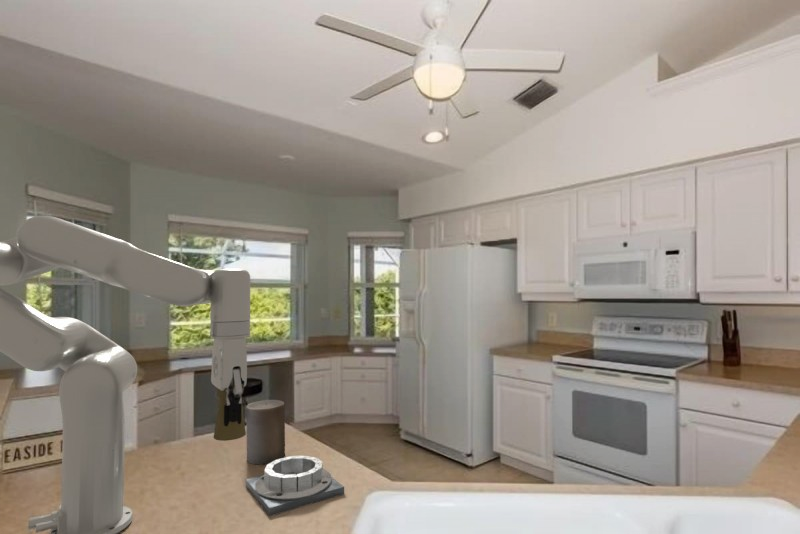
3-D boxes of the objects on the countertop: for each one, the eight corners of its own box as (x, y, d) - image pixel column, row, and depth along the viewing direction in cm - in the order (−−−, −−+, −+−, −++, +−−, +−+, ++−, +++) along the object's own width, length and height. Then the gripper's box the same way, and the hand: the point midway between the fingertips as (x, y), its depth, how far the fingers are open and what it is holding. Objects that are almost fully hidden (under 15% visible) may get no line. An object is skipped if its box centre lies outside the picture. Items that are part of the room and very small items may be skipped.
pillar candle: (291, 451, 121) (290, 394, 122) (275, 465, 111) (275, 403, 112) (256, 450, 122) (256, 394, 123) (238, 464, 112) (238, 403, 113)
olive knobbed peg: (212, 433, 92) (213, 378, 92) (244, 429, 94) (244, 376, 95) (214, 442, 86) (214, 384, 87) (247, 437, 89) (247, 381, 89)
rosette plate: (269, 516, 86) (269, 488, 87) (245, 486, 100) (246, 462, 100) (344, 493, 95) (344, 469, 96) (313, 469, 109) (313, 447, 109)
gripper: (202, 328, 96) (201, 415, 95) (220, 334, 82) (219, 436, 81) (238, 326, 100) (238, 410, 99) (261, 332, 86) (261, 429, 85)
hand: (229, 421), depth 90 cm, fingers closed on olive knobbed peg, 3 cm apart
